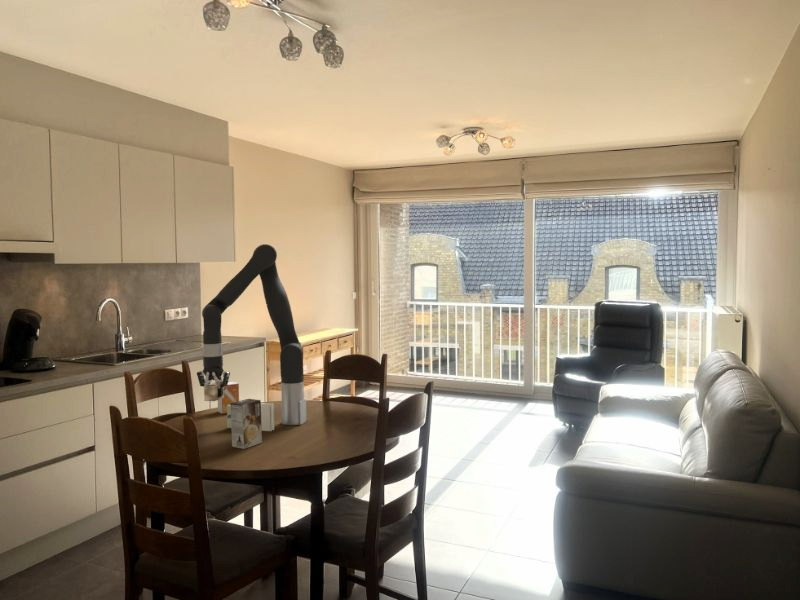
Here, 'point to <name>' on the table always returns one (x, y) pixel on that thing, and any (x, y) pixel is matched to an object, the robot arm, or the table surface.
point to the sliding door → (229, 416)
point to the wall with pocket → (267, 416)
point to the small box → (228, 396)
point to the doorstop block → (211, 392)
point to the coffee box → (246, 423)
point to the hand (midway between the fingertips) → (214, 396)
